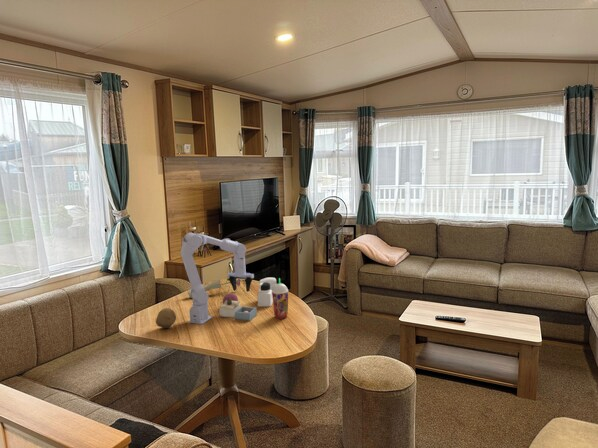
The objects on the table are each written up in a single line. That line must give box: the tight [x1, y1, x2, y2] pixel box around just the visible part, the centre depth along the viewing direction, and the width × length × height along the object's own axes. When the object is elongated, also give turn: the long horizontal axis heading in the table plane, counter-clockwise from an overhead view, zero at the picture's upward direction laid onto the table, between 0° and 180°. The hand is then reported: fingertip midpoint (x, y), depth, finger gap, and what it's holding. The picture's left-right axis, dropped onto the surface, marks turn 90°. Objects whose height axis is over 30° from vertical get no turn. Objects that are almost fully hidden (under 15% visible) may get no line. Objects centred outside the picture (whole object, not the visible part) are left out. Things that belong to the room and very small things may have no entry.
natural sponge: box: [155, 307, 177, 329], centre depth 194 cm, size 9×9×10 cm
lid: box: [219, 298, 240, 310], centre depth 210 cm, size 7×7×4 cm
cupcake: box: [222, 292, 239, 304], centre depth 219 cm, size 9×8×12 cm
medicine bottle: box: [256, 282, 273, 307], centre depth 223 cm, size 7×7×12 cm
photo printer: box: [258, 277, 277, 290], centre depth 232 cm, size 10×4×12 cm, turn 117°
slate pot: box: [234, 306, 258, 322], centre depth 205 cm, size 8×8×4 cm
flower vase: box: [187, 277, 246, 299], centre depth 244 cm, size 12×12×35 cm
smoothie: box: [272, 277, 289, 320], centre depth 203 cm, size 8×8×20 cm
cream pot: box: [218, 304, 242, 319], centre depth 210 cm, size 8×8×4 cm
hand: (241, 290), depth 216 cm, fingers open, 7 cm apart
